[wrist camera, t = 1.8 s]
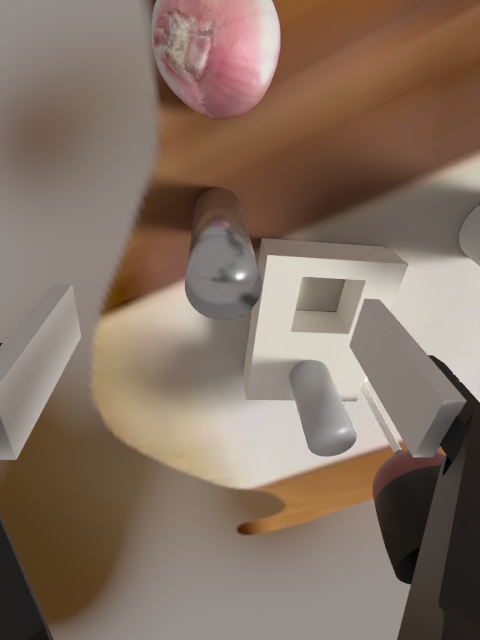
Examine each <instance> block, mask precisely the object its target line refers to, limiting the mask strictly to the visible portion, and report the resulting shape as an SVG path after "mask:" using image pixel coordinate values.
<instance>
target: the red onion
mask: <svg viewBox="0 0 480 640" xmlns="http://www.w3.org/2000/svg"><path fill="white" fill-rule="evenodd" d="M151 44H152V52H153V54H154V57H155V61H156V64H157V66H158V70H159V72H160V74H161V76H162V77H163V79H164V81H165V82H166V83H167V85H168V86H169V88H170V89H171V90H172V91H173V92H174V93H175V94H176V95H177V96H178V97H179V98H180V99H181V100H182V101H183V102H184V103H185V104H186V105H187V106H189V107H190V108H191V109H193V110H195V111H196V112H198V113H200V114H202V115H204V116H206V117H208V118H212V119H230V118H235V117H237V116H240V115H243V114H245V113H246V112H248V111H249V110H251V109H252V108H253V107H254V106H255V105H257V103H258V102H259V101H260V100H261V99H262V98H263V96H264V94H265V92H266V91H267V89H268V87H269V85H270V83H271V81H272V78H273V76H274V73H275V70H276V67H277V62H278V57H279V53H280V26H279V20H278V16H277V12H276V10H275V7H274V4H273V2H272V0H156V3H155V5H154V9H153V14H152V21H151Z"/></svg>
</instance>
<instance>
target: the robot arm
mask: <svg viewBox="0 0 480 640" xmlns="http://www.w3.org/2000/svg"><path fill="white" fill-rule="evenodd" d="M80 338H81V334H80V328H79V322H78V316H77V310H76V304H75V298H74V292H73V286H72V284H63V283H53V284H52V285H51V286H50V287H49V289H48V290H47V291H46V292H45V293H44V295H43V296H42V297H41V298H40V300H39V301H38V302H37V303H36V304H35V305H34V307H33V308H32V309H31V310H30V311H29V313H28V314H27V315H26V316H25V318H24V319H23V320H22V321H21V322H20V324H19V325H18V326H17V327H16V328H15V329H14V331H13V332H12V333H11V334H10V335H9V337H8V338H7V339H6V340H5V342H4V343H0V460H16V459H17V457H18V455H19V454H20V452H21V450H22V448H23V446H24V444H25V442H26V440H27V438H28V436H29V435H30V433H31V431H32V429H33V427H34V425H35V423H36V421H37V419H38V417H39V416H40V414H41V412H42V410H43V408H44V406H45V404H46V402H47V400H48V399H49V397H50V395H51V393H52V391H53V389H54V387H55V385H56V383H57V382H58V379H59V378H60V376H61V374H62V372H63V370H64V368H65V366H66V365H67V363H68V361H69V359H70V357H71V355H72V353H73V351H74V349H75V347H76V346H77V344H78V342H79V340H80ZM349 347H350V348H351V350H352V352H353V354H354V355H355V357H356V359H357V361H358V362H359V364H360V366H361V367H362V369H363V371H364V373H365V374H366V376H367V378H368V380H369V381H370V383H371V385H372V387H373V388H374V390H375V392H376V394H377V395H378V397H379V399H380V401H381V402H382V404H383V406H384V408H385V409H386V411H387V413H388V415H389V416H390V418H391V420H392V422H393V423H394V425H395V427H396V429H397V430H398V432H399V434H400V435H401V437H402V439H403V441H404V442H405V444H406V446H407V448H408V449H409V451H410V453H411V455H412V456H413V457H434V455H435V453H436V452H437V450H438V448H439V447H440V446H441V447H442V449H443V450H444V452H445V453H446V456H445V458H444V459H443V461H442V463H441V464H440V466H439V467H438V469H437V471H436V472H435V474H434V476H436V477H437V476H438V475H439V476H438V480H437V484H436V488H435V492H434V496H433V500H432V504H431V508H430V512H429V516H428V520H427V524H426V528H425V532H424V536H423V540H422V543H421V547H420V551H419V555H418V559H417V563H416V567H415V571H414V575H413V579H412V583H411V587H410V591H409V595H408V599H407V603H406V607H405V611H404V615H403V619H402V623H401V628H400V631H399V635H398V638H397V640H480V403H479V401H478V400H477V399H476V398H475V397H474V396H473V395H472V394H471V392H470V391H469V390H468V389H467V388H466V387H465V386H464V385H463V384H462V382H459V379H458V378H457V377H456V376H455V375H453V372H452V371H451V370H450V369H449V368H448V367H447V366H446V365H445V364H444V363H443V362H442V361H440V360H439V359H437V358H436V357H434V356H430V355H427V354H426V353H425V352H424V350H423V349H422V348H421V347H420V346H419V345H418V343H417V342H416V341H415V340H414V339H413V338H412V336H411V335H410V334H409V333H408V332H407V331H406V329H405V328H404V327H403V326H402V325H401V324H400V323H399V321H398V320H397V319H396V318H395V317H394V316H393V314H392V313H391V312H390V311H389V310H388V309H387V307H386V306H385V305H384V304H383V303H382V302H381V300H380V299H364V301H363V304H362V307H361V311H360V314H359V317H358V320H357V323H356V326H355V329H354V332H353V336H352V339H351V342H350V345H349ZM0 640H53V637H52V635H51V632H50V630H49V628H48V625H47V623H46V621H45V618H44V616H43V614H42V611H41V609H40V606H39V604H38V602H37V599H36V597H35V595H34V592H33V590H32V588H31V585H30V583H29V581H28V578H27V576H26V574H25V571H24V569H23V567H22V564H21V562H20V559H19V557H18V555H17V552H16V550H15V548H14V545H13V543H12V541H11V538H10V536H9V533H8V531H7V529H6V527H5V524H4V522H3V519H2V517H1V515H0Z"/></svg>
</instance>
